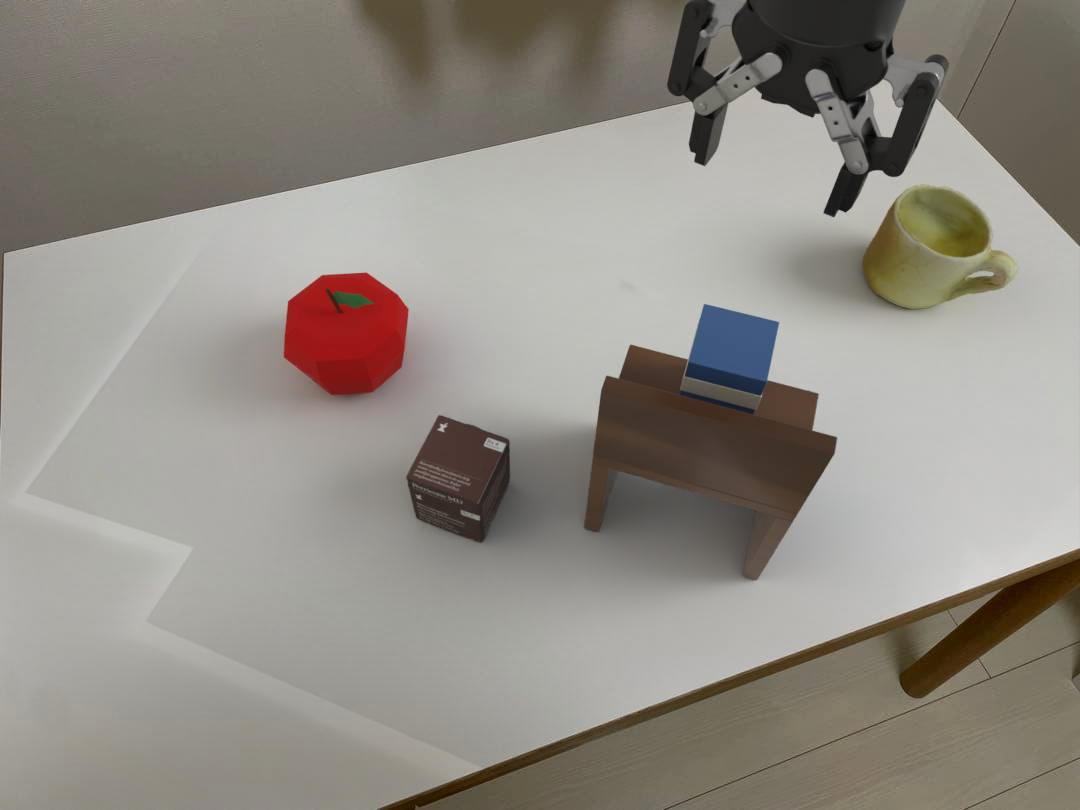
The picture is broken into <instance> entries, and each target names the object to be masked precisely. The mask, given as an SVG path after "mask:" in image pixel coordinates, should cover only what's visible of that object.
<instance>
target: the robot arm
mask: <svg viewBox="0 0 1080 810" xmlns="http://www.w3.org/2000/svg"><path fill="white" fill-rule="evenodd" d="M906 2H907V0H746V1H744V2H741V1H738V0H688V1H687V3H686V4H685V5H684V7H683V11H682V17H681V20H680V25H679V29H678V34H677V37H676V42H675V47H674V52H673V55H672V56H673V57H672V60H671V64H670V69H669V74H668V77H667V83H666V87H667V90H668V92H669V93H670V94H671V95H673V96H674V97H682V96H684V97H685V98H686V99H688V100H689V101H690V102H691V104H692V108H693V110H694V114H693V120H692V125H691V131H690V135H689V141H688V147H689V148H688V149H689V151H690V153H693V154H695V155H694V160H693V162H694V163H695V164H697V165H699V166H703V167H706V166H707V165H708V163H709V162H710V161H711V159H712V158H713V156H714V155H715V154H716V152H717V150H718V148H719V145H720V141H721V136H722V132H723V129H724V124H725V120H726V115H727V112H728V108H729V104H730V103H732V102H735V100H737V99H738V98H740V97H741V96H743V95H744V94H746V93H748V92H749V91H751V90H752V89H754V88H755V90H756V91H757V92H758V93H759V94H760V95H761V96H760V100H763V101H766V102H769V103H772V104H774V105H775V104H777V105H784V106H788V107H790V108H792V109H793V110H794V111H796V112H797V113H799V114H801V115H803V116H807V117H809V118H812V119H813V118H814V117H815V116H816V115H820V116H821V118H822V120H823V123H824V126H825V127H826V128H825V129H826V131H827V133H828V136H829V138H830V140H831V142H833V143H837V145H838V147H839V151H840V152H841V156H842V158H843V161H844V163H843V164H842V166H841V167H840V170H839V172H838V175H837V177H836V179H835V182H834V183H833V184H834V185H833V187H832V190H831V192H830V195H829V197H828V199H827V202H826V204H825V207H824V209H823V215H826V216H829V217H831V218H836V216H837V214H838V213H839V211H840V212H843V213H847V212H849V211H850V210H851V209H852V208H853V207H854V204H855V203H856V201H857V200H858V198H859V196H860V194H861V193H862V190H863V187H864V185H865V183H866V181H867V178H868V176H869V173H871V172H874V171H876V172H877V171H878V172H879V171H881V172H883V174H884V175H886V176H887V177H890V178H897V177H900V176H902V175H903V173H904V172H905V171H906V168H907V167H908V165H909V163H910V161H911V160H912V157H913V155H914V154H915V152H916V150H917V148H918V146H919V144H920V141H921V140H922V136H923V134H924V132H925V129H926V125H927V123H928V122H929V118H930V116H931V114H932V110H933V109H934V105H935V103H936V101H937V98H938V96H939V94H940V90H941V88H942V85H943V83H944V80H945V78H946V76H947V73H948V71H949V67H950V63H949V60H948V59H947V57H946V56H945V55H943V54H937V53H936V54H931V55H929V56H928V57H927V58H926V59H925V60H924V61H921V60H917V59H913V58H909V57H906V56H902V55H898V54H895V48H894V41H893V40H894V33H895V29H896V27H897V25H898V23H899V20H900V17H901V15H902V12H903V9H904V7H905V5H906ZM725 27H731V34H732V38H733V40H734V43H735V45H736V47H737V50H738V53H739V54H740V55H739V56H738V57H737V58H736V59H735V60H734V61H733V62H731V63H730V64H729V65H727V66H726V67H725V68H723V69H722V70H720V71H719V72H718V73H716V74H715V75H713V74H711V73H710V72H709V71H707V69H704V67H705V64H706V60H707V56H708V52H709V49H710V45H711V41H712V39H713V38H716V37H717V36H718V35H719V34H720V32H721V31H722V30H723V29H724V28H725ZM883 80H884V81H886V82H888V83H889V85H890V86H891V88H892V93H891V98H892V101H893V102H894V105H895V107H896V108H898V109H900V108H901V111H900V113H899V116H898V119H897V121H896V125H895V127H894V130H893V132H892V135H891V136H883V135H882V133H881V130H880V128H879V125H878V122H877V120H876V116H875V113H874V108H875V101H874V97H873V95H872V92H871V89H872V88H875V87H876V86H877V85H879V84H880V83H882V81H883Z"/></svg>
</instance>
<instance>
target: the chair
mask: <svg viewBox="0 0 1080 810" xmlns="http://www.w3.org/2000/svg"><path fill="white" fill-rule="evenodd" d="M687 362H688V358H685V357H680V356H676V355H672V354H668V353H665V352H661V351H657V350H654V349H649V348H646V347H642V346H639V345H634V344H629V346H628V349H627V352H626V355H625V358H624V361H623V363H622V366H621V370H620V373H619V376H618V377H614V376H611V375H605V378H604V381H603V384H602V386H601V388H600V397H599V404H598V413H597V419H596V427H595V437H594V443H593V452H592V460H591V468H590V477H589V484H588V492H587V501H586V509H585V516H584V524H583V529H584V530H587V531H590V532H594V533H599V532H600V528H601V525H602V521H603V518H604V516H605V512H606V509H607V506H608V504H609V503H608V502H609V500H610V496H611V493H612V490H613V486H614V483H615V481H616V477H617V474H618V472H621V473H624V474H627V475H630V476H633V477H634V476H635V477H638V478H641V479H645V480H648V481H653V482H655V483H658V484H662V485H665V486H669V487H673V488H677V489H680V490H682V491H683V490H684V491H686V492H690V493H694V494H697V495H699V496H700V495H701V496H703V497H708V498H711V499H715V500H718V501H722V502H725V503H728V504H732V505H736V506H738V507H743V508H746V509H748V510H749V509H750V510H754V516H753V520H752V525H751V530H750V535H749V540H748V544H747V550H746V555H745V558H744V559H745V560H744V563H743V565H744V566H743V569H742V573H741V576H742V577H744V578H747V579H749V580H753V581H758V580H759V578H760V577H761V575H762V573H763V572H764V570H765V568H766V567H767V565H768V564H769V562H770V560H771V558H772V557H773V555H774V553H775V552H776V550H777V549H778V547H779V546H780V544H781V542H782V541H783V539H784V537H785V535H786V534H787V532H788V531H789V529H790V527H791V526H792V524H793V522H794V521H795V519H796V518H797V516H798V514H799V513H800V511H801V510H802V508H803V506H804V504H805V503H806V501H807V500H808V498H809V497H810V495H811V493H812V492H813V490H814V488H815V487H816V485H817V483H818V482H819V480H820V479H821V477H822V475H823V474H824V472H825V470H826V468H827V467H828V466H829V464H830V462H831V460H832V459H833V458H834V456H835V454H836V448H837V444H838V443H837V442H838V436H835V435H831V434H827V433H824V432H820V431H817V430H814V425H815V419H816V413H817V408H818V401H819V396H820V394H819V392H816V391H815V392H814V391H811V390H807V389H803V388H799V387H795V386H791V385H787V384H785V383H784V384H783V383H780V382H776V381H772V380H769V379H768V380H767V383H766V385H765V388H764V390H763V393H762V397H761V400H760V402H759V405H758V407H757V409H756V410H755V412H754V414H749V413H745V412H742V411H738V410H734V409H731V408H727V407H723V406H719V405H716V404H712V403H708V402H704V401H701V400H697V399H693V398H690V397H686V396H682V395H679V394H680V391H681V390H680V388H681V384H682V380H683V376H684V373H685V369H686V365H687Z"/></svg>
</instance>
